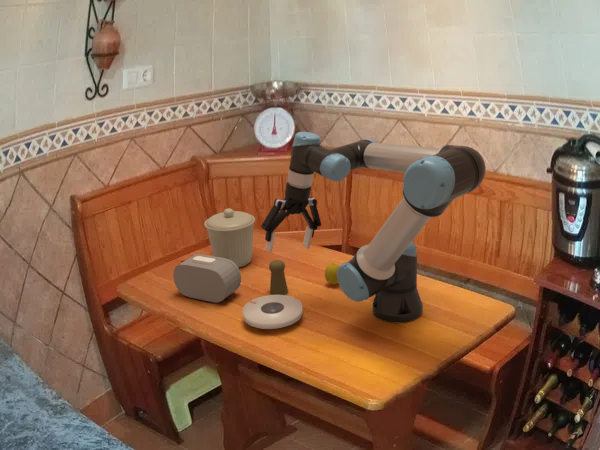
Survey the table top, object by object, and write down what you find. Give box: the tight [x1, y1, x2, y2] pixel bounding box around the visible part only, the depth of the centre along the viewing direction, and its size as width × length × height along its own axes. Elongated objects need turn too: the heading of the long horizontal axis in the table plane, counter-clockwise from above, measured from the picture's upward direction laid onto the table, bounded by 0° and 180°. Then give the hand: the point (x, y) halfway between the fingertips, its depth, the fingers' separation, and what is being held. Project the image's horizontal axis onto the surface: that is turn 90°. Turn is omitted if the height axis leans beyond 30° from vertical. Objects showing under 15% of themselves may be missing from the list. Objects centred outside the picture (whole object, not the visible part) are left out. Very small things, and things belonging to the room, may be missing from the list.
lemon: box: [324, 262, 339, 286], centre depth 225 cm, size 6×6×8 cm
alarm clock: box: [172, 253, 242, 304], centre depth 222 cm, size 21×10×13 cm, turn 61°
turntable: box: [242, 294, 304, 330], centre depth 205 cm, size 18×18×2 cm
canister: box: [203, 207, 256, 269], centre depth 244 cm, size 18×18×21 cm
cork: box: [268, 259, 289, 295], centre depth 222 cm, size 6×6×11 cm
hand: (287, 248), depth 209 cm, fingers open, 13 cm apart
